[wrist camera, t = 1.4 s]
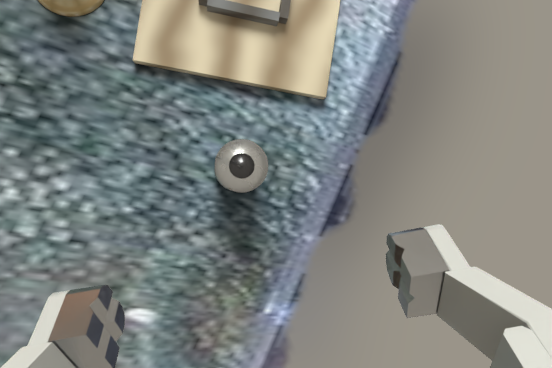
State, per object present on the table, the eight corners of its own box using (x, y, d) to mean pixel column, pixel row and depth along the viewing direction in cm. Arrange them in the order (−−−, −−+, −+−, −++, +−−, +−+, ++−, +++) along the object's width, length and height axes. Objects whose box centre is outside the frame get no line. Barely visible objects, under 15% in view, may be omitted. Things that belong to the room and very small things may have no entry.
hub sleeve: (211, 187, 45) (210, 188, 36) (218, 144, 45) (219, 134, 36) (254, 193, 46) (264, 196, 37) (260, 152, 46) (271, 143, 37)
